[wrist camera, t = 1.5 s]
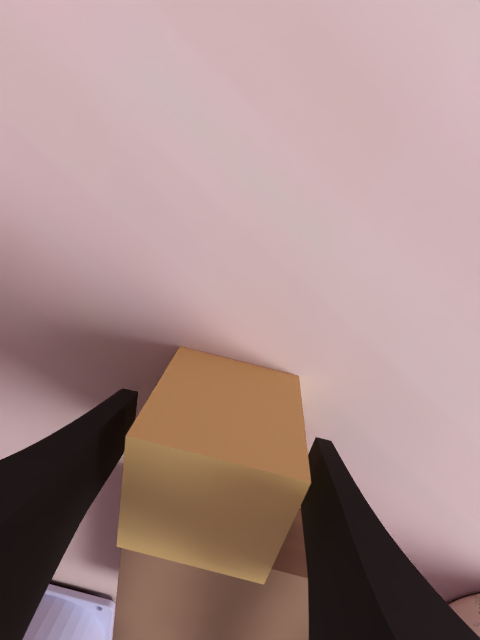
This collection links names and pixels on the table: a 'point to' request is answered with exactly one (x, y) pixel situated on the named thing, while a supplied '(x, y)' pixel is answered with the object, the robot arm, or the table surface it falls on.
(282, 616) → the walnut base
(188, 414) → the ochre block
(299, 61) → the table surface
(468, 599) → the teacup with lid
